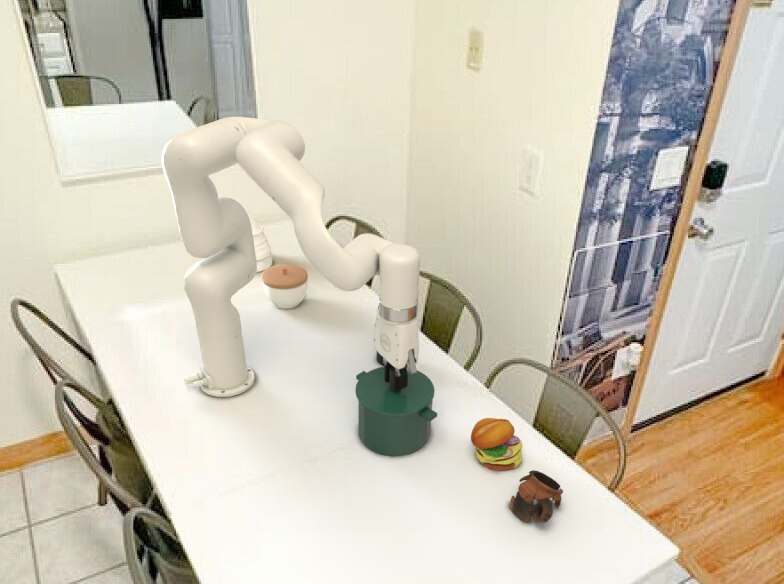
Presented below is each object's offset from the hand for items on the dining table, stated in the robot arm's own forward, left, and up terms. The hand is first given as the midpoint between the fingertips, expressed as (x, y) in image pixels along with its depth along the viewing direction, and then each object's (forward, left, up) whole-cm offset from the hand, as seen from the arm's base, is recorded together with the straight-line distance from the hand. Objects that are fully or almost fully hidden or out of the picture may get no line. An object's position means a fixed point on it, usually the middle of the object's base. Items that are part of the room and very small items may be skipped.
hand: (395, 383), depth 134 cm
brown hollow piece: (+11, -34, -14) cm, 38 cm away
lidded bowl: (+4, +63, -14) cm, 65 cm away
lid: (0, 0, -2) cm, 2 cm away
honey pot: (+5, +91, -14) cm, 92 cm away
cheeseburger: (+14, -18, -14) cm, 27 cm away
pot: (0, 0, -13) cm, 13 cm away
